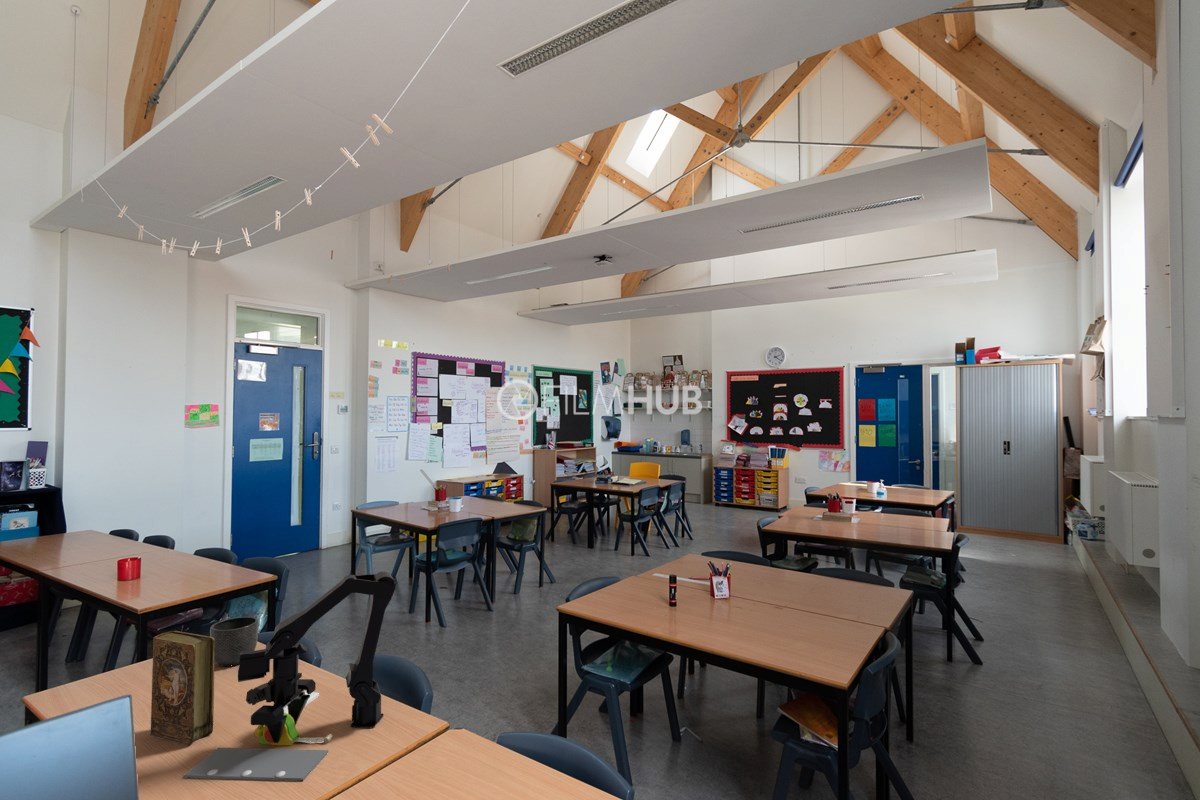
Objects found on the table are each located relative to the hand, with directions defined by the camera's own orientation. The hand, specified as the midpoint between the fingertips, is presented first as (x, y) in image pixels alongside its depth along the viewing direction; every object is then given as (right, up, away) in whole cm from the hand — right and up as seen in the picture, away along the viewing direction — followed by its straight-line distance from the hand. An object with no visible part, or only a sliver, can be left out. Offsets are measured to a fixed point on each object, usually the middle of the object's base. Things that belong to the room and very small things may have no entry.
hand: (284, 735), depth 144 cm
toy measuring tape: (+2, -2, 0) cm, 3 cm away
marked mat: (-1, -1, -10) cm, 10 cm away
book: (-29, -2, +3) cm, 29 cm away
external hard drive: (-8, -3, +18) cm, 20 cm away
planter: (-44, -4, +48) cm, 65 cm away
